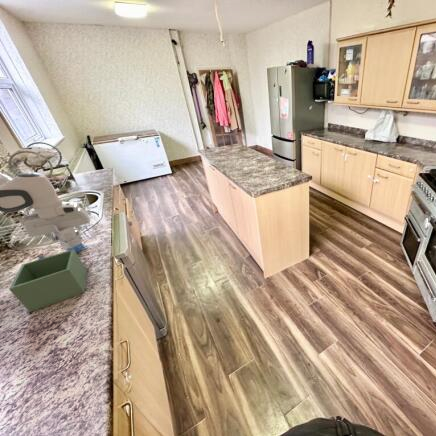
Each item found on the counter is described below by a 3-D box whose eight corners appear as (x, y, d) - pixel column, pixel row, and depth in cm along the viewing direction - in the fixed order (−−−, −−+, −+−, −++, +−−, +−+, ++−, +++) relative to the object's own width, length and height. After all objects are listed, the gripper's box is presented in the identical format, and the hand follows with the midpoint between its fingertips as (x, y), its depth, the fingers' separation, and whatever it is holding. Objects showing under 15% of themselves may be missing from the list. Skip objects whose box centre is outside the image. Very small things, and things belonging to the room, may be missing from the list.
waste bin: (29, 312, 78) (8, 289, 72) (39, 286, 88) (22, 264, 83) (84, 292, 85) (68, 269, 79) (87, 270, 95) (73, 249, 90)
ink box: (85, 248, 108) (69, 220, 101) (73, 254, 105) (55, 225, 97) (75, 244, 112) (59, 217, 105) (63, 249, 108) (45, 222, 101)
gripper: (14, 220, 91) (34, 249, 98) (80, 206, 101) (94, 233, 107) (19, 214, 96) (38, 242, 102) (81, 201, 105) (95, 227, 112)
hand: (67, 237), depth 105 cm, fingers closed on ink box, 7 cm apart
